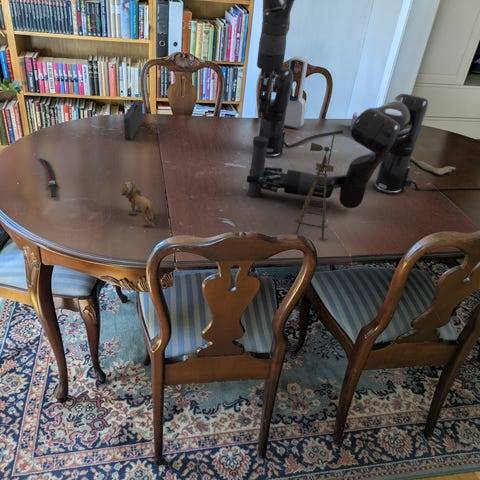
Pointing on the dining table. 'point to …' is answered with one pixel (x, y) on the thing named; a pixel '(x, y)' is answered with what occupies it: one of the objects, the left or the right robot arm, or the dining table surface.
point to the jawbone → (432, 169)
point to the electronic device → (296, 104)
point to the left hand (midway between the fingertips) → (264, 108)
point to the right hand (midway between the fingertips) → (248, 175)
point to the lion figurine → (137, 201)
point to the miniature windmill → (320, 169)
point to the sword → (52, 181)
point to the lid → (260, 141)
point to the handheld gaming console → (133, 119)
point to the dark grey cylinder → (257, 169)
